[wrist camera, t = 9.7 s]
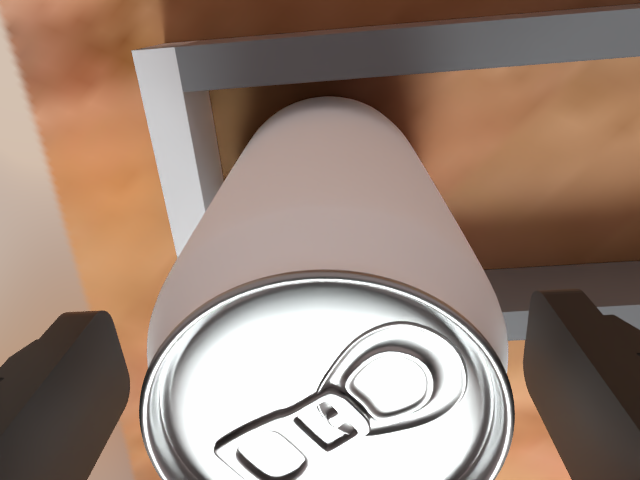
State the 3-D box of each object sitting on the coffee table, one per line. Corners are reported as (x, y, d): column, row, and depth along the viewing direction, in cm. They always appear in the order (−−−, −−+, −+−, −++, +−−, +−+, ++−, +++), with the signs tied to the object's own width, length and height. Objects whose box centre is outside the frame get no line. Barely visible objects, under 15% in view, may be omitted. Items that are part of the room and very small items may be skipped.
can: (451, 196, 19) (624, 465, 8) (316, 291, 20) (299, 616, 9) (343, 52, 16) (369, 136, 6) (203, 170, 18) (17, 409, 7)
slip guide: (733, -5, 16) (818, -7, 13) (663, 285, 20) (715, 330, 17) (164, 43, 16) (131, 50, 14) (216, 310, 21) (199, 356, 18)
